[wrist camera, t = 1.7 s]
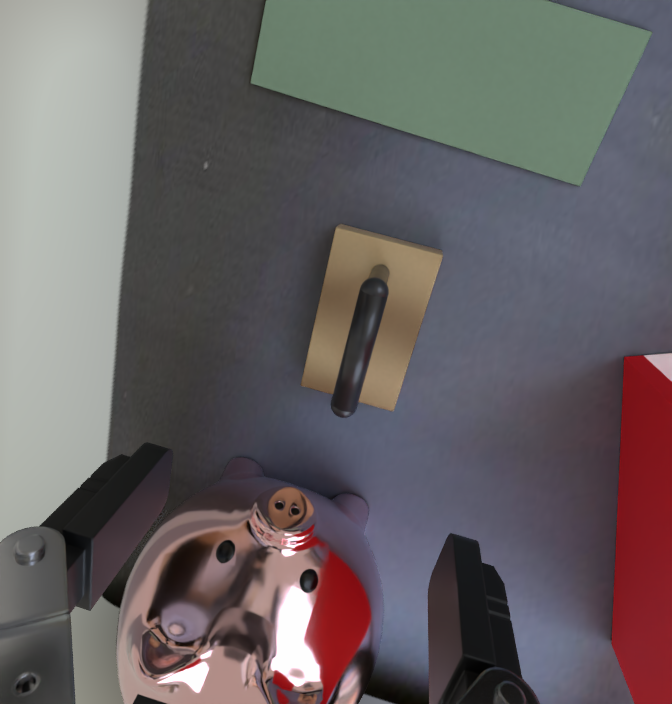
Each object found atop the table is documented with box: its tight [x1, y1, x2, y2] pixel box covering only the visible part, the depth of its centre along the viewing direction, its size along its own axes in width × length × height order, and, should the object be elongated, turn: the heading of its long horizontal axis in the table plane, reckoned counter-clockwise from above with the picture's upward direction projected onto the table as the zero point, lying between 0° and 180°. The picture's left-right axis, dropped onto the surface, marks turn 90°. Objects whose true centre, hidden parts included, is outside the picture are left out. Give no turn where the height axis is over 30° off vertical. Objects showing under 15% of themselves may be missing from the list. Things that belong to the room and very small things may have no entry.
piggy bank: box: [116, 457, 384, 704], centre depth 30 cm, size 15×18×16 cm
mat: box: [251, 0, 652, 186], centre depth 24 cm, size 18×7×1 cm, turn 74°
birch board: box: [301, 224, 443, 418], centre depth 27 cm, size 10×6×6 cm, turn 167°
